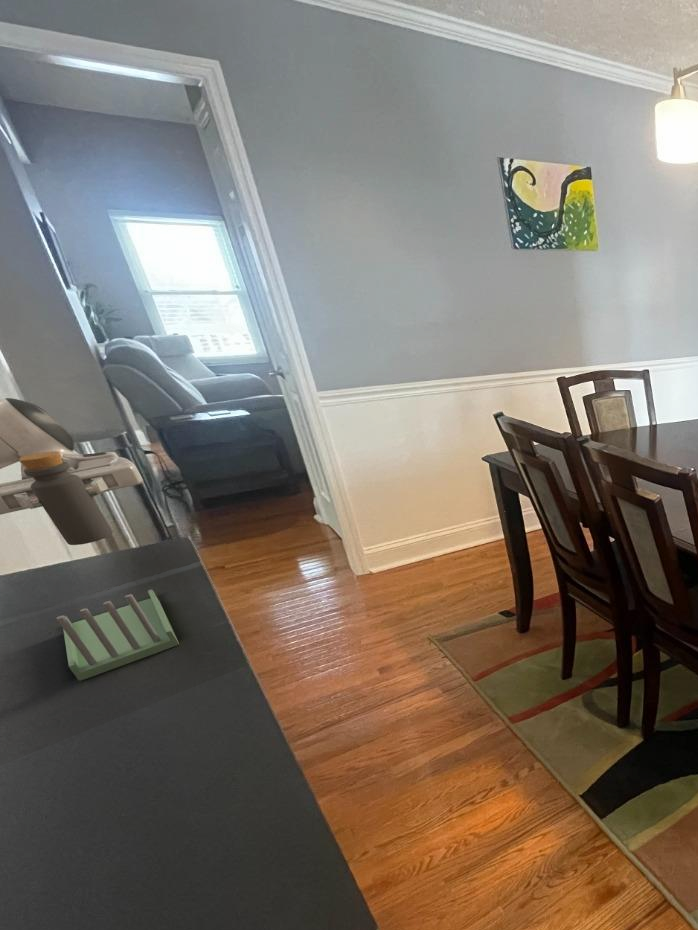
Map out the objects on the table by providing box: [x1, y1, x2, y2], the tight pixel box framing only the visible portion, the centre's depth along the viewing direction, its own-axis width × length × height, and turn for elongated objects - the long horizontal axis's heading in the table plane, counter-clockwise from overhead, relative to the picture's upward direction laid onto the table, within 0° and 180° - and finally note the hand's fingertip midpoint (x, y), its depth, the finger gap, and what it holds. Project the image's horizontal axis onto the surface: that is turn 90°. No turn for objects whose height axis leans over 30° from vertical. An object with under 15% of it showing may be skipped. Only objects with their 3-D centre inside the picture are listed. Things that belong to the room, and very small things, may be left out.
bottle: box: [18, 451, 114, 546], centre depth 100 cm, size 6×6×15 cm
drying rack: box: [56, 589, 180, 682], centre depth 91 cm, size 11×20×9 cm, turn 48°
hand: (64, 496), depth 100 cm, fingers closed on bottle, 5 cm apart
